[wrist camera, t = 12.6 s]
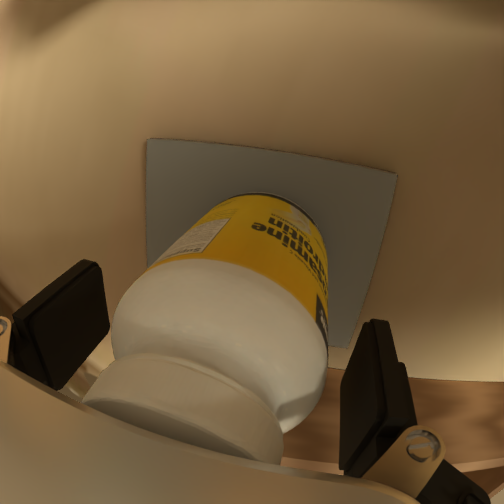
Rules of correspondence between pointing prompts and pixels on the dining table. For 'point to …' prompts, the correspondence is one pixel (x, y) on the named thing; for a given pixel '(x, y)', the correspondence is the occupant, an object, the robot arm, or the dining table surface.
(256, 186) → the slate mat
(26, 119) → the dining table surface
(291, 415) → the pill bottle
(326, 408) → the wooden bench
